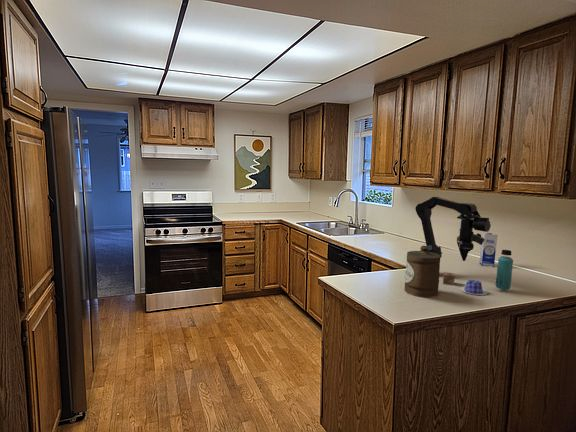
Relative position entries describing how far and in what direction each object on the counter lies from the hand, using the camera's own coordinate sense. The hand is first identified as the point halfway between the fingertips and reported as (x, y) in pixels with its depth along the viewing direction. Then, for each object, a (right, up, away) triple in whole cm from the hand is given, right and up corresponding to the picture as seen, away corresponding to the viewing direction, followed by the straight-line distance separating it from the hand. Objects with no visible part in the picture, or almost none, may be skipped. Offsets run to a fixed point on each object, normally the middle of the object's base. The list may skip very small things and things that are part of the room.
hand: (463, 258), depth 188 cm
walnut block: (-8, -13, 0) cm, 15 cm away
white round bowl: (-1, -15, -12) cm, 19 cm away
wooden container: (-27, -14, -15) cm, 34 cm away
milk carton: (+33, -9, +39) cm, 52 cm away
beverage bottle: (+14, -15, -10) cm, 23 cm away
